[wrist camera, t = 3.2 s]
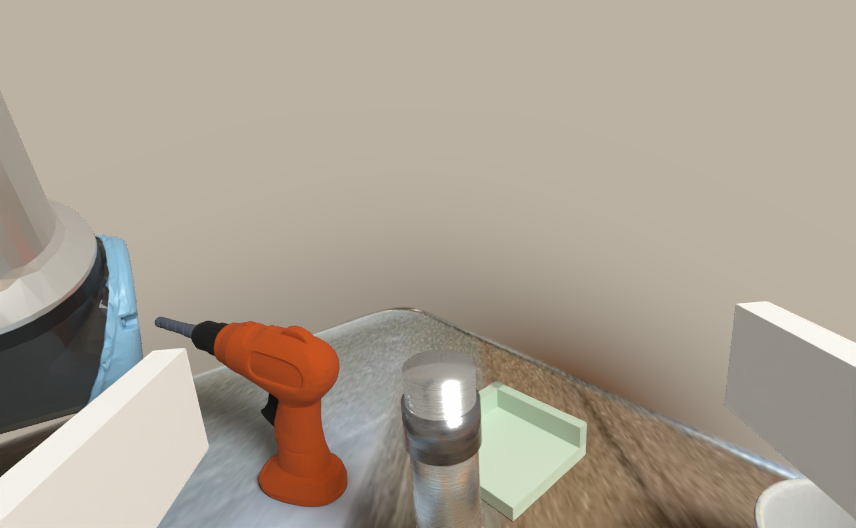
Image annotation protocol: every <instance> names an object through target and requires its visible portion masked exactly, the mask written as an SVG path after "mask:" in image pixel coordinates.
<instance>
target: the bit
mask: <svg viewBox="0 0 856 528" xmlns="http://www.w3.org/2000/svg"><path fill="white" fill-rule="evenodd" d="M402 377H403V388H404V394H403V396H402V398H401V410H402V420H403V431H404V442H405V448H406V450H407V452H408V453H409V454H410V464H411V475H412V486H413V497H414V508H415V519H416V528H482V521H481V497H480V473H479V449H480V447H481V444H482V427H481V401H480V394H479V392H478V391H477V389H476V377H475V363H474V361H473V360H472V359H471V358H470V357H469V356H467V355H465V354H463V353H461V352H457V351H452V350H432V351H426V352H422V353H419V354H417V355H414V356H413V357H411V358H409V359H408V360H407V361H406V362H405V363H404V364H403V367H402Z"/></svg>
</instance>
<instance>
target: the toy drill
mask: <svg viewBox="0 0 856 528" xmlns="http://www.w3.org/2000/svg"><path fill="white" fill-rule="evenodd" d="M155 325H156V326H157V327H160V328H164V329H166V330H169V331H173V332H176V333H180V334H182V335H184V336H186V337H189V338H191V339H192V342H193V343H194V345H195V347H196V348H198V349H200V350H204V351H207V352H208V353H209V354H211V355H214V356H215V357H216V358H217V360H218V361H220V362H221V363H223V364H224V365H225V366H227V367H228V368H230V369H231V370H233V371H234V372H236V373H238V374H240V375H242V376H244V377H245V378H247V379H248V380H250V381H252V382H253V383H255V384H256V385H258V386H259V387H261V388H263V389H264V390H266V391H267V392H269V399H268V403H267V405H266V406H265V408H264V409H262V410H261V412H262V414H263V416H264V417H265V418H266V419H267V420H268V421H269V422H270V423H271V424H272V425H273V426H274V427H275V439H276V442H277V444H278V454H276V455H275V456H273V457H272V458H270V459H269V460H268V462H267V463H266V464H265V465H264V467H263V468H262V470H261V472H260V474H259V483H260V487H261V488H262V490H263V491H264V492H265V494H267V495H268V496H270V497H272V498H274V499H276V500H279V501H282V502H285V503H289V504H294V505H299V506H310V507H312V506H322V505H327V504H329V503H331V502H333V501H335V500H336V499H337V498H339V497H340V496H341V495H342V493H343V492H344V491H345V489H346V487H347V471H346V469H345V467H344V465H343V462H342V461H341V459H340V458H338V457H337V456H336V455H335V454H333V453H330V451H329V448H328V446H327V444H326V441H325V437H324V433H323V429H322V421H321V398H322V397H323V396H324V395H325V394H326V393H327V392H328V391H329V390H330V389H331V388H332V387H333V385H334V383H335V382H336V380H337V377H338V373H339V359H338V357H337V354H336V352H335V350H334V349H333V348H332V347H331V346H330V345H329V344H327V343H326V342H325V341H323V340H321V339H320V338H317V337H315V336H313V335H312V334H311V333H310V332H309V331H307V330H306V329H304V328H302V327H299V326H290V327H288V328H283V327H278V326H273V325H270V326H266V325H263V324H260V323H256V322H252V321H249V322H243V323H231V324H226V323H216V322H212V321H205V322H203V323H200V324H198V325H193V324H187V323H183V322H179V321H175V320H171V319H168V318H164V317H158V318H157V319H156V320H155Z"/></svg>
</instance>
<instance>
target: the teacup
mask: <svg viewBox="0 0 856 528" xmlns="http://www.w3.org/2000/svg"><path fill="white" fill-rule="evenodd" d="M753 528H856V520H855V519H854V518H853V517H852V516H851V515H849V514H848V513H847V512H846V511H845V510H844V509H843V508H841V507H840V506H839V505H838V504H837V503H836V502H835V501H833V500H832V499H831V498H830V497H829V496H828V495H827V494H825V493H824V492H823V491H822V490H821V489H820V488H819V487H817V486H816V485H815V484H814V483H813V482H812V481H811V480H809V479H808V478H796V479H789V480H783V481H781V482H777V483H776V484H773V485H771V486H769V487H768V488H767V489H765V490H764V491H763V492H762V493H761V494H760V496H759V497H758V499H757V501H756V505H755V508H754V526H753Z"/></svg>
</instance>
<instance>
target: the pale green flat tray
mask: <svg viewBox="0 0 856 528" xmlns="http://www.w3.org/2000/svg"><path fill="white" fill-rule="evenodd" d="M479 394H480V401H481V427H482V444H481V447H480V449H479V473H480V497H481V499H482V500H484V501H485V502H487V503H488V504H489V505H491V506H492V507H494V508H495V509H496V510H498V511H499V512H501V513H502V514H503V515H505V516H506V517H508V518H509V519H510V520H512V521H514V520H515V519H516V518H517V517H518V516H520V515H521V514H522V513H523V512H524V511H525V510H526V509H527V508H528V507H529V506H530V505H531V504H533V503H534V502H535V501H536V500H537V499H538V498H539V497H540V496H541V495H542V494H543V493H544V492H546V491H547V490H548V489H549V488H550V487H551V486H552V485H553V484H554V483H555V482H556V481H557V480H559V479H560V478H561V477H562V476H563V475H564V474H565V473H566V472H567V471H568V470H569V469H570V468H571V467H573V466H574V465H575V464H576V463H577V462H578V461H579V460H580V459H581V458H582V457H583V456H584V455H586V429H587V423H586V422H584V421H582V420H580V419H577V418H575V417H573V416H571V415H569V414H566V413H564V412H562V411H560V410H558V409H556V408H553V407H551V406H549V405H547V404H545V403H542V402H540V401H538V400H536V399H534V398H531V397H529V396H527V395H525V394H523V393H521V392H518V391H516V390H514V389H512V388H510V387H507V386H505V385H503V384H501V383H499V382H497V381H496V382H494V383H492V384H491V385H489V386H487V387H486V388H484V389H482V390H481V391H479Z"/></svg>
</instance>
